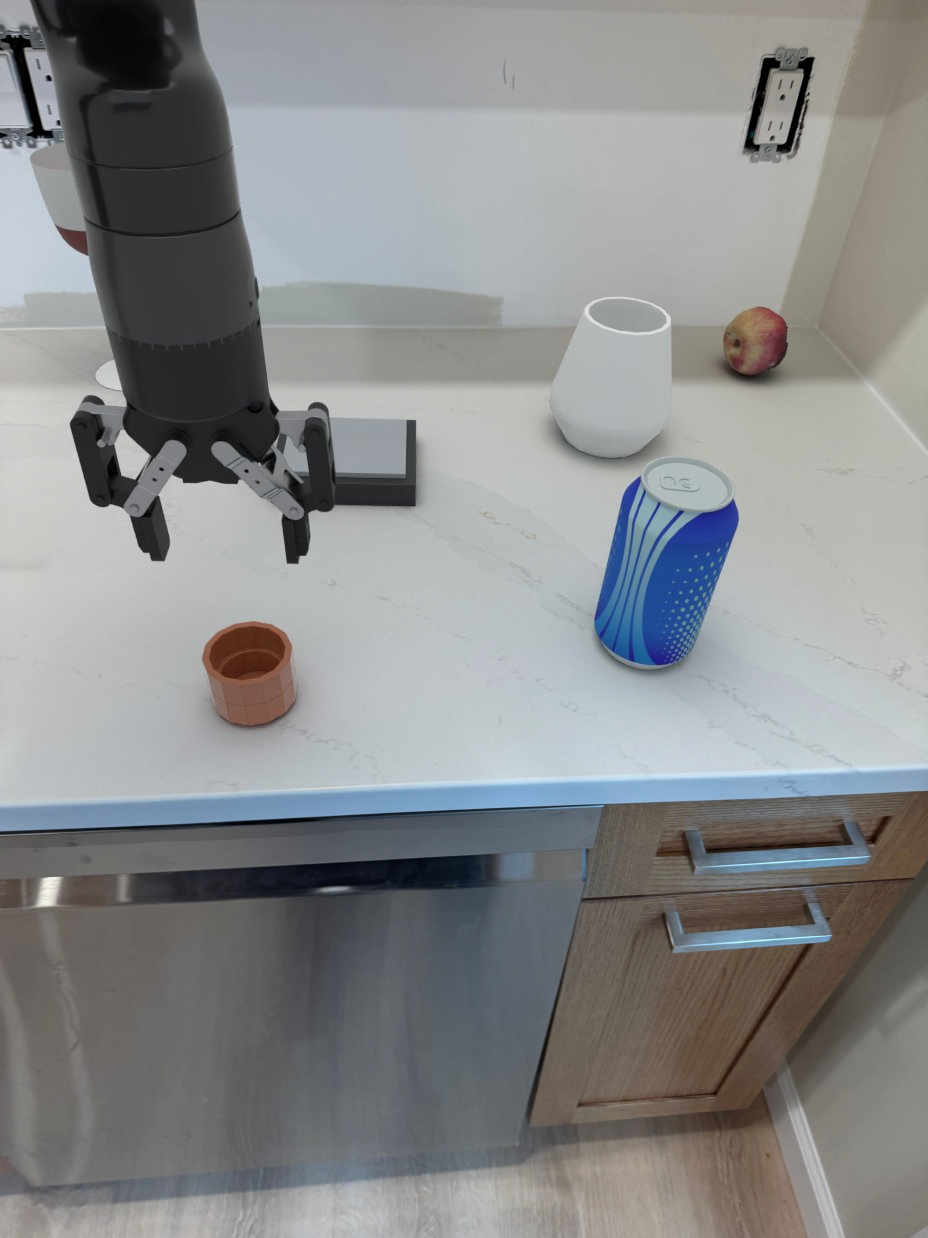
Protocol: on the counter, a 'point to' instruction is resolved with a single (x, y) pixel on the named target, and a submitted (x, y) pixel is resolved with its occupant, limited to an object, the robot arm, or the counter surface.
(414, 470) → the scale
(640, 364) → the cup
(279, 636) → the copper hollow cylinder
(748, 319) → the fruit
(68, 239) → the wineglass
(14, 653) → the counter surface
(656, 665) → the beer can
